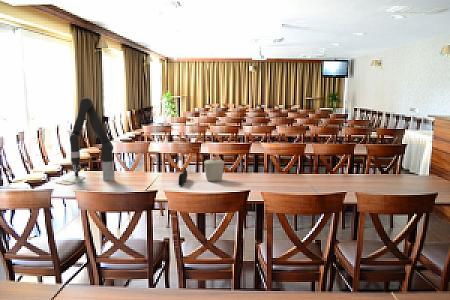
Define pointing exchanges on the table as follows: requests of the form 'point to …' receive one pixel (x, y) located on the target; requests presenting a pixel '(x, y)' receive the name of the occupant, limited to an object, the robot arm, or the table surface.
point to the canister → (214, 169)
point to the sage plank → (75, 179)
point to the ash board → (65, 182)
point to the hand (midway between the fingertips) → (76, 176)
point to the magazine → (183, 177)
